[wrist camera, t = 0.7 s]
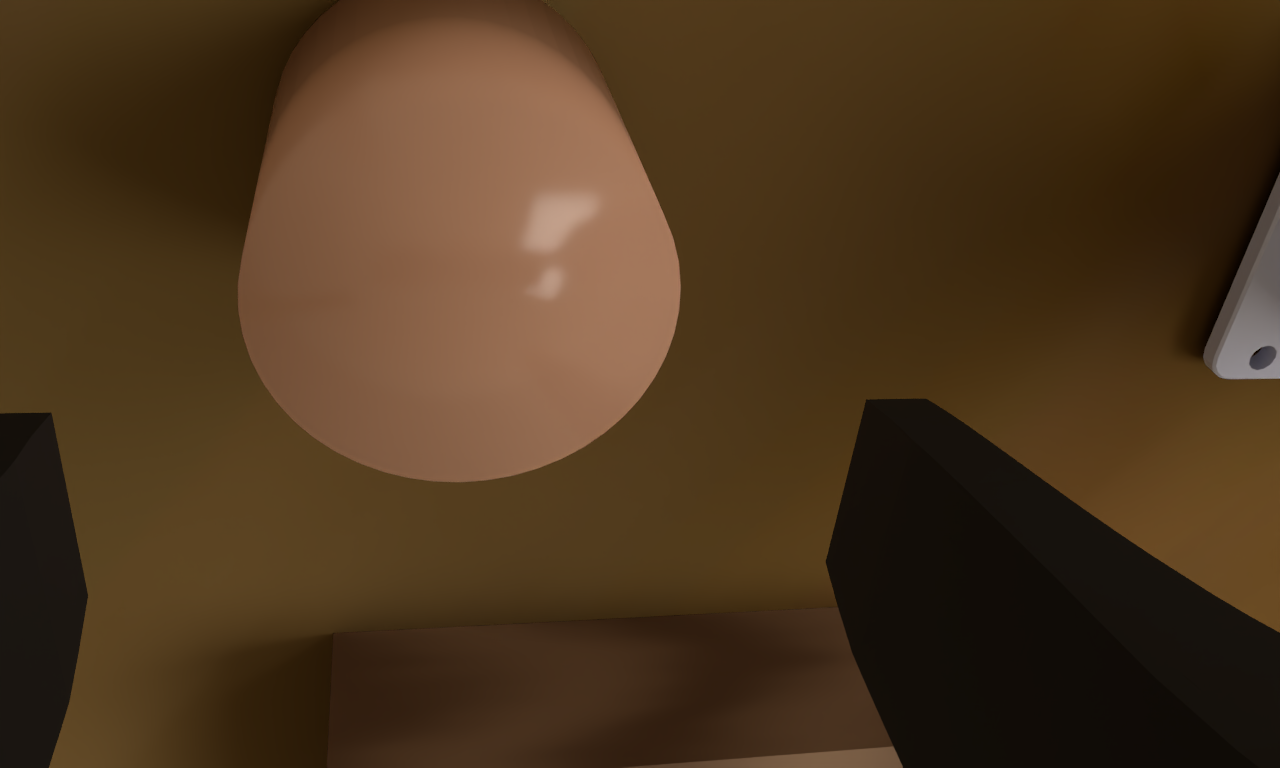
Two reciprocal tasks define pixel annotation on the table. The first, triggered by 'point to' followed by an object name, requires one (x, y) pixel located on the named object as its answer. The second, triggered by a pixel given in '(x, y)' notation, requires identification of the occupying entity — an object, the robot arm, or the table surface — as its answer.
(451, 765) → the walnut block
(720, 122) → the table surface
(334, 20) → the terracotta cylinder
